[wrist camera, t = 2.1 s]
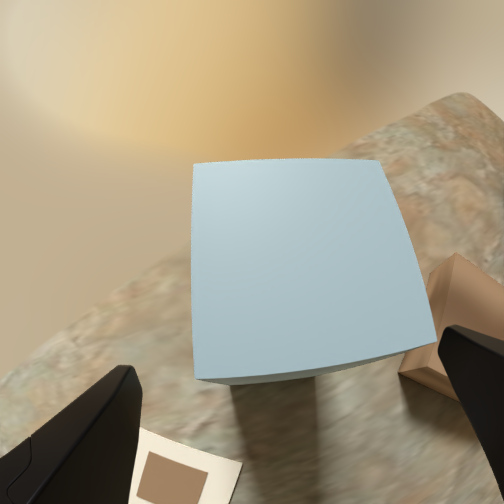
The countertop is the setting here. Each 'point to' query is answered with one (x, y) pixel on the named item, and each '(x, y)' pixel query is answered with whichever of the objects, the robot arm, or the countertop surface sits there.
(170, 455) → the page
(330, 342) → the blue brick
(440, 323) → the walnut base
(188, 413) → the countertop surface
